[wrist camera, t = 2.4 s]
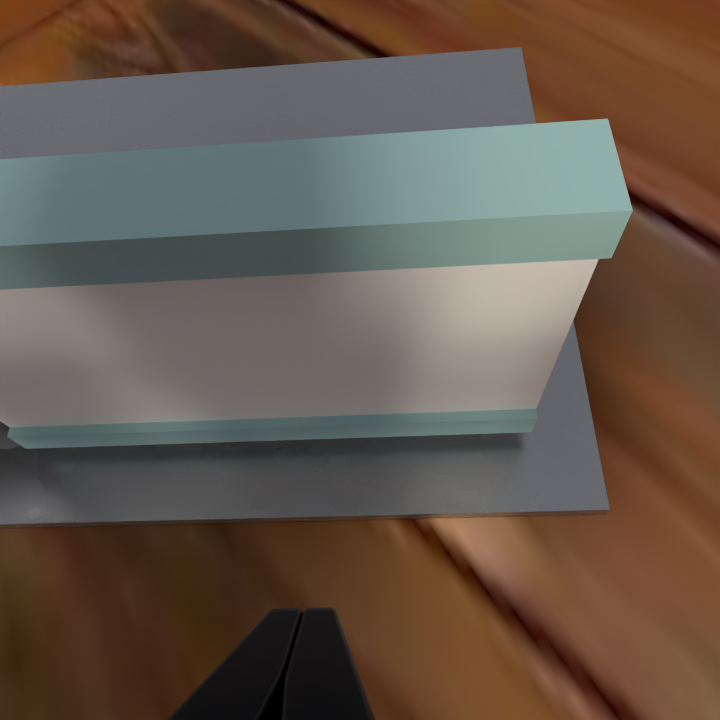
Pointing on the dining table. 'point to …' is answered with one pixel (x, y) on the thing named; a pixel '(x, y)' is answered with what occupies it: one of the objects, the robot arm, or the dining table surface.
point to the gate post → (313, 456)
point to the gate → (298, 284)
